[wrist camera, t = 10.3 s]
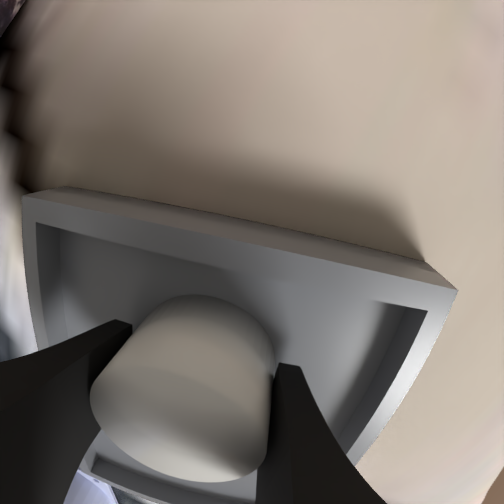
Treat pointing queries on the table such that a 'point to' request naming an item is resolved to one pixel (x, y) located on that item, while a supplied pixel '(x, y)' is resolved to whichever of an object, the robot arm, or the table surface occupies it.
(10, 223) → the table surface
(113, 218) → the parts tray
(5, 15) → the mineral specimen
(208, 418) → the cream rounded piece
